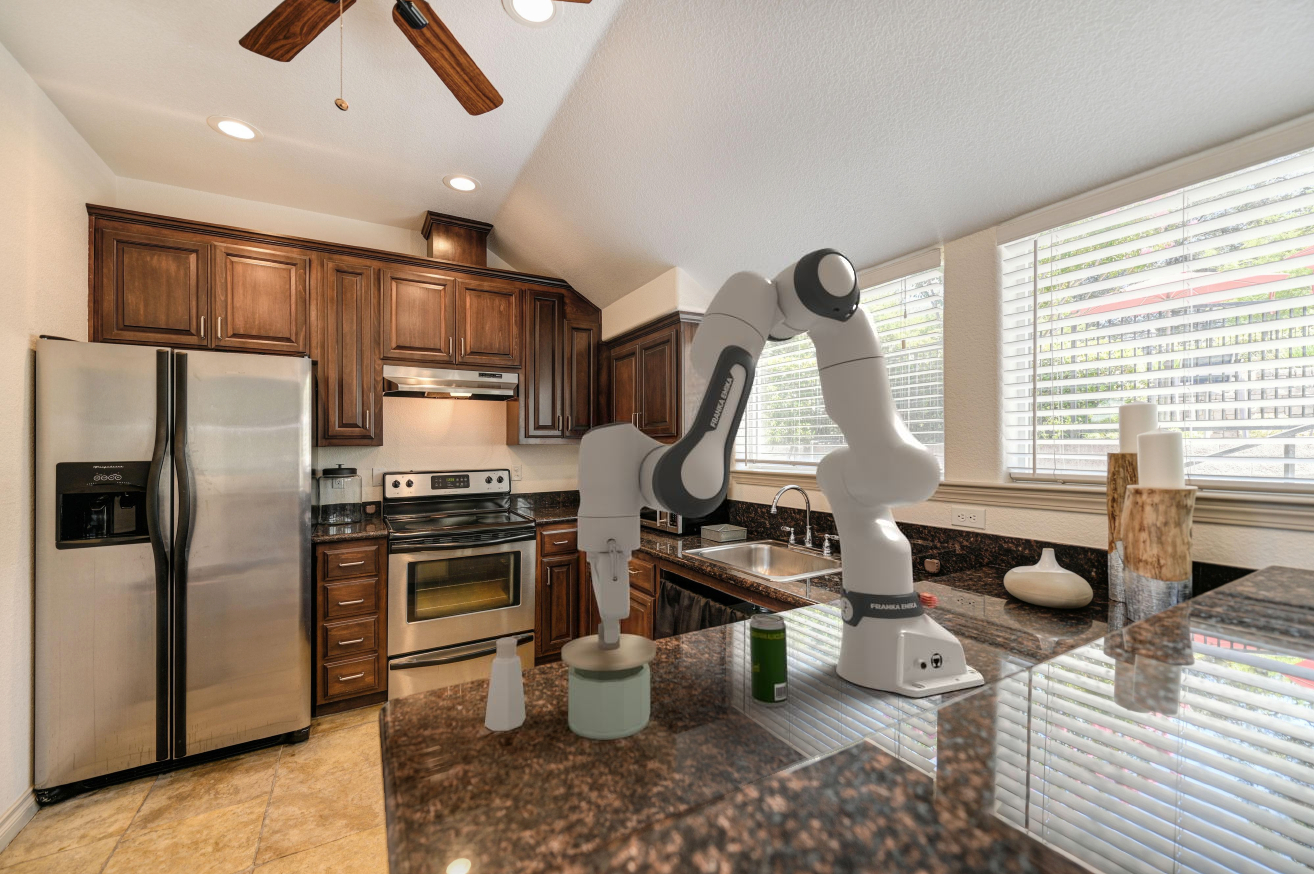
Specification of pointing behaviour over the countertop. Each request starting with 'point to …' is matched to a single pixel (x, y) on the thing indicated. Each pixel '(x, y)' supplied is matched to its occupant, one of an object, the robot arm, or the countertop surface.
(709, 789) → the countertop surface
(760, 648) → the beer can
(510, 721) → the pepper shaker
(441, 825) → the countertop surface
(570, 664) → the lid
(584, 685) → the pale green pot
